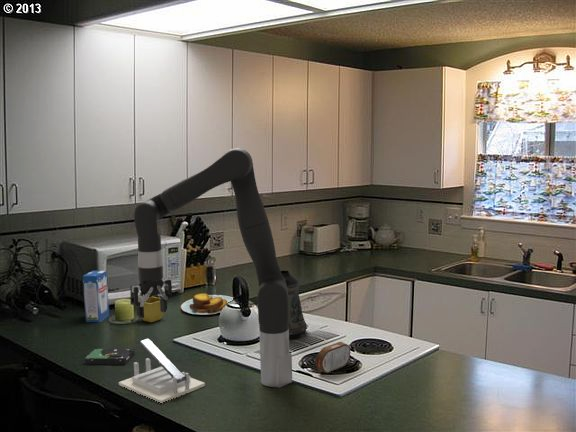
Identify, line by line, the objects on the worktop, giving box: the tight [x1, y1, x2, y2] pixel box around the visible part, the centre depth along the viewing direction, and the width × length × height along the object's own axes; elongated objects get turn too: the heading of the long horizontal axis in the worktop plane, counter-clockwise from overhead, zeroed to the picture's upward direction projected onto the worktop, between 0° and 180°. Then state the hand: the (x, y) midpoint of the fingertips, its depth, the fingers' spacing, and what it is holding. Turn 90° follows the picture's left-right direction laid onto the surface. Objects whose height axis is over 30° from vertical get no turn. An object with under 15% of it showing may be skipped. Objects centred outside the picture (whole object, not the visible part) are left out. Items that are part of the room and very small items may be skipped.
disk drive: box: [84, 347, 136, 366], centre depth 230 cm, size 10×3×15 cm
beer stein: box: [280, 270, 307, 341], centre depth 250 cm, size 16×19×25 cm
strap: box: [139, 338, 186, 383], centre depth 204 cm, size 21×3×1 cm, turn 50°
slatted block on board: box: [118, 357, 206, 404], centre depth 205 cm, size 22×17×6 cm
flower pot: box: [141, 296, 165, 323], centre depth 274 cm, size 9×9×9 cm
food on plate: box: [180, 292, 234, 315], centre depth 290 cm, size 25×25×7 cm
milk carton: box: [82, 270, 110, 323], centre depth 278 cm, size 10×6×20 cm, turn 172°
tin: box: [315, 341, 351, 374], centre depth 215 cm, size 15×3×8 cm, turn 134°
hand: (152, 314), depth 205 cm, fingers open, 8 cm apart
